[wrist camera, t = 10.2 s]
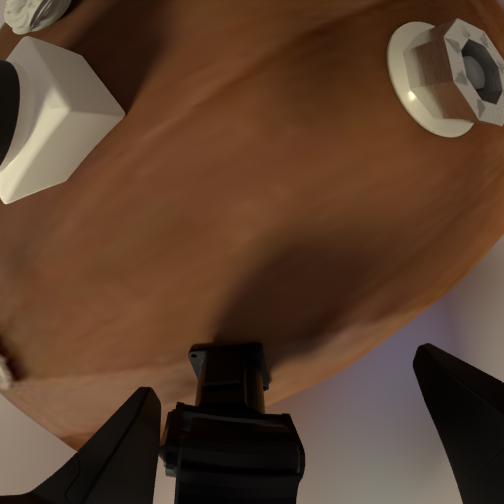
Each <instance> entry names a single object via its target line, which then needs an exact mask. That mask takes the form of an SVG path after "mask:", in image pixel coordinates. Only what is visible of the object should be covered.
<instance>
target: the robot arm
mask: <svg viewBox="0 0 504 504" xmlns="http://www.w3.org/2000/svg"><path fill="white" fill-rule="evenodd" d="M255 348H258V349H255ZM193 354H196V355H193ZM188 356H189V359H190V361H191V364H192V366H193V369H194V371H195V374H196V376H197V378H198V386H197V393H196V401H195V406H193V405H187V404H184V403H182V402H177V405H176V409H173V411H171V412H168V415H167V421H166V425H165V429H164V432H163V435H162V438H161V441H160V426H161V403H160V400H159V399H158V397H157V395H156V394H155V392H154V390H153V389H152V388H151V387H140V388H138V389H137V390H136V391H135V392H134V393H133V394H132V395H131V396H130V398H129V399H128V400H127V401H126V402H125V403H124V404H123V405H122V406H121V407H120V408H119V409H118V410H117V411H116V412H115V413H114V414H113V415H112V416H111V417H110V418H109V419H108V421H107V422H106V423H105V424H104V425H103V426H102V427H101V428H100V429H99V430H98V431H97V432H96V433H95V434H94V435H93V436H92V437H91V438H90V439H89V440H88V441H87V442H86V443H85V444H84V445H83V446H82V447H81V448H80V449H79V450H78V453H76V454H74V456H73V457H72V458H71V459H70V460H68V461H67V462H66V463H65V464H64V465H63V466H62V467H61V468H60V469H59V470H58V471H56V472H55V473H54V474H53V475H52V476H50V477H49V478H48V479H46V480H45V481H44V482H43V483H42V484H40V485H39V486H37V487H36V488H35V489H33V490H32V491H30V492H28V493H25V494H21V495H6V496H0V504H153V496H154V487H155V478H156V470H157V463H158V455H159V456H160V458H161V459H162V460H163V461H164V467H166V476H169V477H176V486H175V499H174V504H296V497H297V491H298V485H299V482H300V481H301V479H302V477H303V474H304V470H305V452H304V448H303V445H302V443H301V441H300V438H299V436H298V433H297V431H296V428H295V426H294V424H293V421H292V419H291V416H290V414H284V413H283V414H265V403H264V392H263V391H266V390H268V389H269V385H268V379H267V373H266V367H265V360H264V354H263V348H262V345H261V344H260V343H248V344H240V345H231V346H221V347H210V348H198V349H191V350H189V354H188ZM413 369H414V372H415V375H416V377H417V380H418V383H419V386H420V389H421V392H422V395H423V398H424V401H425V403H426V406H427V408H428V410H429V413H430V415H431V417H432V419H433V422H434V424H435V426H436V429H437V431H438V434H439V436H440V439H441V441H442V443H443V446H444V448H445V451H446V454H447V456H448V459H449V462H450V465H451V467H452V470H453V473H454V476H455V479H456V482H457V485H458V489H459V492H460V495H461V499H462V502H463V504H504V382H503V383H502V381H500V380H498V379H496V378H494V377H493V376H491V375H489V374H487V373H485V372H483V371H481V370H479V369H477V368H476V367H474V366H472V365H470V364H468V363H466V362H464V361H462V360H460V359H458V358H457V357H454V356H453V355H451V354H449V353H447V352H445V351H443V350H441V349H439V348H438V347H436V346H434V345H432V344H430V343H426V344H424V345H420V346H419V347H418V348H417V351H416V354H415V357H414V360H413Z"/></svg>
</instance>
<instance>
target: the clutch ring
mask: <svg viewBox="0 0 504 504" xmlns="http://www.w3.org/2000/svg"><path fill="white" fill-rule="evenodd" d="M403 56H404V60H405V65H406V70H407V76H408V82H409V88H410V90H411V91H412V92H413V93H414V94H415V96H416V97H417V98H418V99H419V100H420V102H421V103H422V104H423V105H424V107H425V108H426V109H427V110H428V112H429V113H430V114H431V115H432V117H433V118H434V119H441V120H448V121H454V122H463V123H477V124H488V125H497V126H503V124H504V61H503V59H502V58H501V56H500V54H499V53H498V51H497V50H496V48H495V47H494V45H493V44H492V42H491V41H490V39H489V38H488V36H487V35H486V34H485V32H484V31H482V30H480V29H478V28H476V27H475V26H473V25H471V24H468V23H466V22H464V21H462V20H460V19H458V18H457V19H454V20H451V21H449V22H446V23H443V24H441V25H438V26H436V27H433V28H431V29H428V30H426V31H424V32H421V33H419V34H418V35H417V36H416V37H415V38H414V40H413V41H412V42H411V43H410V44H409V45H408V47H407V48H406V49H405V50H404V51H403ZM466 56H471V57H473V58H474V59H476V60H477V61H478V63H479V64H480V66H481V68H482V70H483V72H484V76H485V84H484V87H483V88H481V89H474V87H473V86H472V84H471V83H470V81H469V80H468V78H467V76H466V71H465V66H464V62H463V57H466Z"/></svg>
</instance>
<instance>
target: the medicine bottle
mask: <svg viewBox="0 0 504 504" xmlns="http://www.w3.org/2000/svg"><path fill="white" fill-rule="evenodd" d="M124 116H125V111H124V110H123V109H122V107H121V106H120V105H119V104H118V102H117V101H116V100H115V98H114V97H113V96H112V94H111V93H110V92H109V91H108V89H107V88H106V87H105V85H104V84H103V83H102V81H101V80H100V79H99V77H98V76H97V75H96V73H95V72H94V71H93V70H92V68H91V67H90V66H89V64H88V63H87V62H86V60H85V59H84V58H83V56H81V55H79V54H76V53H74V52H71V51H69V50H66V49H64V48H61V47H58V46H56V45H53V44H50V43H47V42H45V41H42V40H39V39H36V38H33V37H29V36H26V37H24V38H23V39H21V41H20V42H19V43H18V45H17V46H16V47H15V49H14V50H13V51H12V53H11V54H10V55H9V57H8V58H7V60H6V61H3V60H0V198H1V199H2V201H3V202H4V203H5V204H9V203H11V202H14V201H16V200H18V199H21V198H23V197H25V196H28V195H30V194H33V193H35V192H38V191H40V190H43V189H46V188H48V187H51V186H54V185H57V184H59V183H62V182H65V181H66V180H67V179H68V178H69V177H70V176H71V174H72V173H73V172H74V171H75V170H76V168H77V167H78V166H79V165H80V164H81V162H82V161H83V160H84V159H85V158H86V157H87V155H88V154H89V153H90V152H91V151H92V150H93V149H94V148H95V146H96V145H97V144H98V143H99V142H100V141H101V140H102V139H103V138H104V137H105V136H106V135H107V134H108V133H109V132H110V131H111V130H112V129H113V128H114V127H115V126H116V125H117V124H118V123H119V122H120V121H121V120H122V119H123V118H124Z"/></svg>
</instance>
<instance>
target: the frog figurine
mask: <svg viewBox="0 0 504 504" xmlns="http://www.w3.org/2000/svg"><path fill="white" fill-rule="evenodd" d="M70 3H71V0H7V4H6V7H5V11H4V12H5V13H4V20H5V22H6V23H7V24H9V26H10V27H12V28H13V32H14V33H16V34H25V33H28V32H30V31H38V30H41V29H42V28H45V27H47V26H49V25H51V24H52V23H54V22H55V21H57V20H58V19H59V18H60V17H61V16H62V15H63V14H64V13H65V12H66V10H67V9H68V7H69V5H70Z"/></svg>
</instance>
